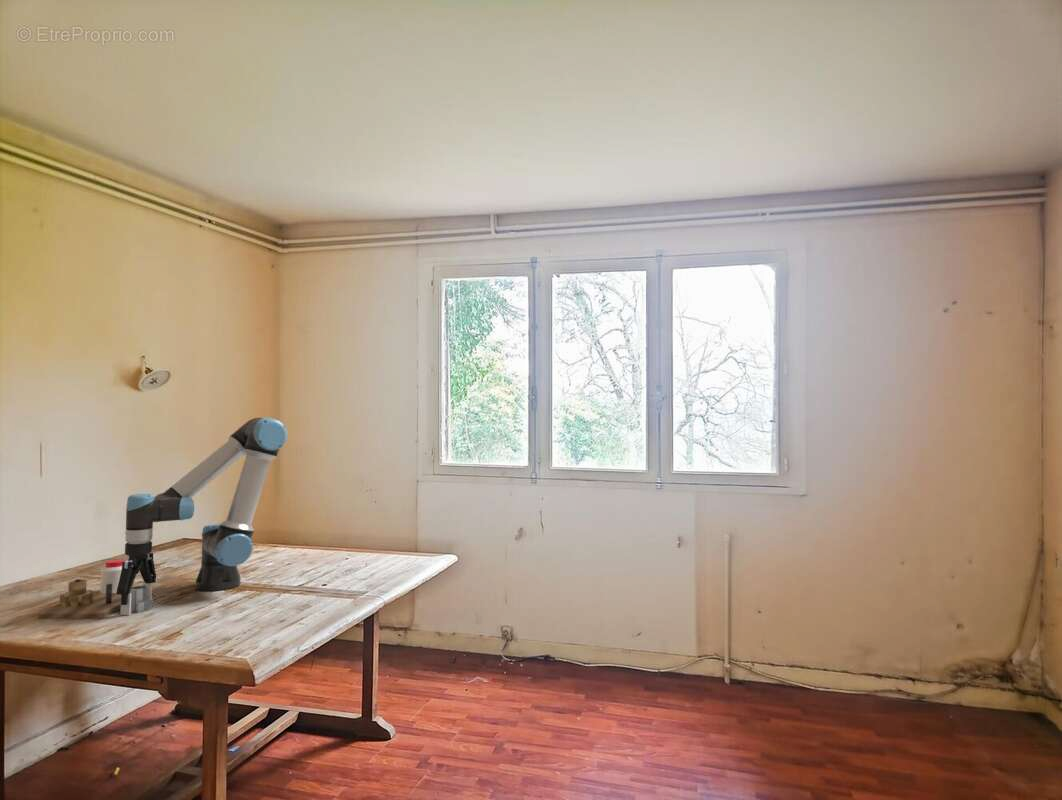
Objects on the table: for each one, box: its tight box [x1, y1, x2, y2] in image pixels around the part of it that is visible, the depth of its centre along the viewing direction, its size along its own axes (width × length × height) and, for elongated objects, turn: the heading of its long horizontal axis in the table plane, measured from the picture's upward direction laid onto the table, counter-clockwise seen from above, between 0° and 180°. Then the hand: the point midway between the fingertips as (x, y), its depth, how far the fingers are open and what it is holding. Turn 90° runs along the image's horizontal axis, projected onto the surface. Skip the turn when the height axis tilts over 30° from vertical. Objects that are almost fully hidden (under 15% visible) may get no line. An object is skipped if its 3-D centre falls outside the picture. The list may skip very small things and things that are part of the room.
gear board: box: [37, 578, 121, 619], centre depth 202 cm, size 19×22×9 cm
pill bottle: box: [99, 558, 125, 593], centre depth 220 cm, size 8×8×11 cm
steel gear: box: [119, 585, 154, 614], centre depth 201 cm, size 9×9×7 cm
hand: (136, 608), depth 201 cm, fingers open, 11 cm apart
